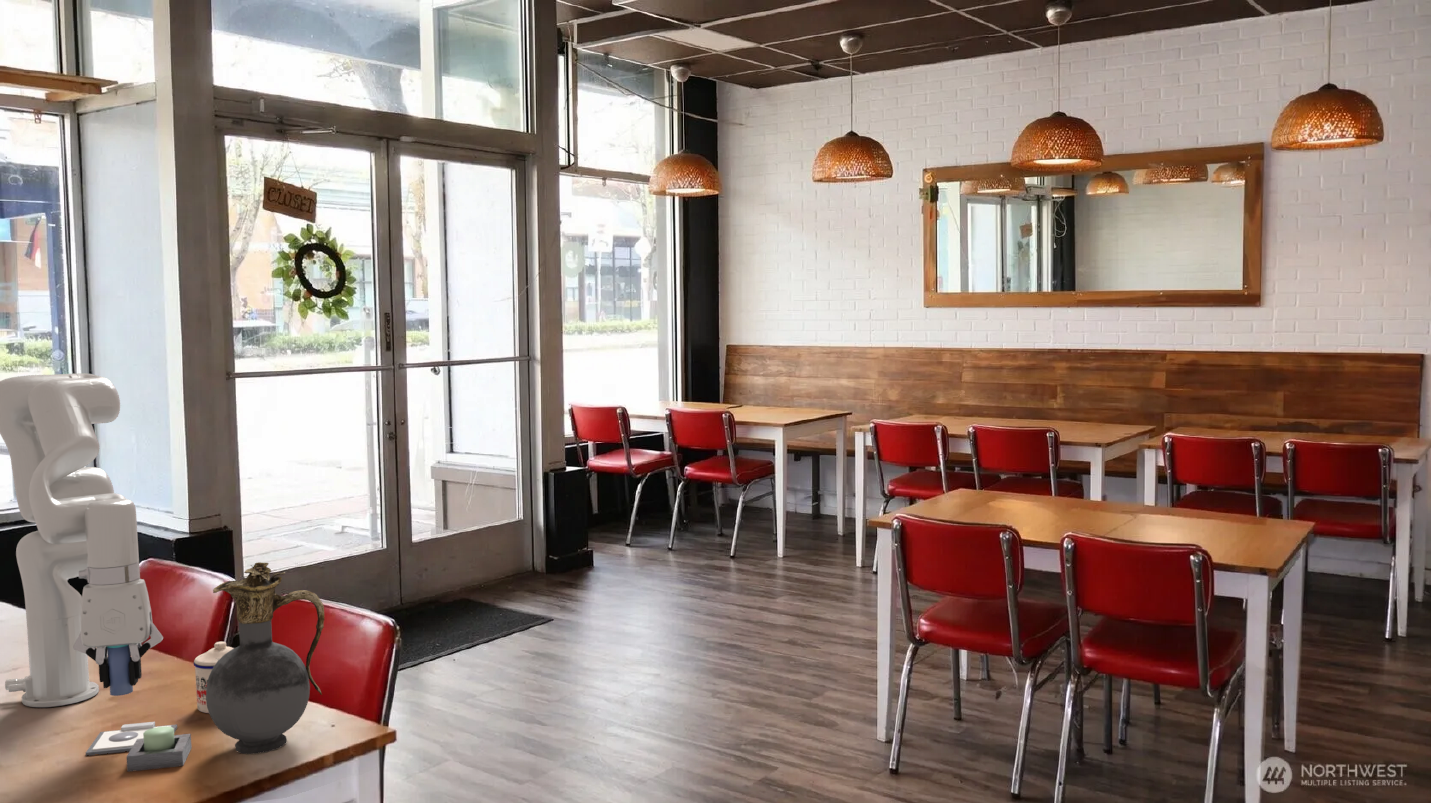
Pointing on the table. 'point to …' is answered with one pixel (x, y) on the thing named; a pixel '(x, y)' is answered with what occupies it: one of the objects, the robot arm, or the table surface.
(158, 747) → the button
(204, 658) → the teacup with lid
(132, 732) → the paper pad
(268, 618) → the pitcher
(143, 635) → the robot arm
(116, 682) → the cylinder
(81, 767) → the table surface
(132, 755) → the button base
